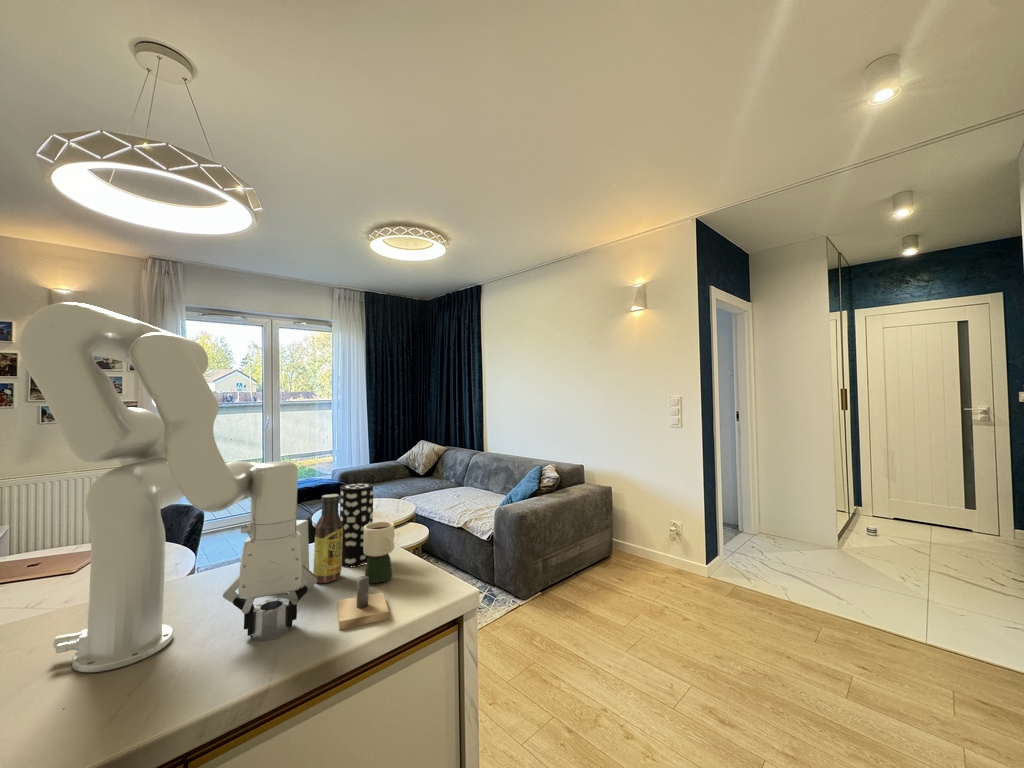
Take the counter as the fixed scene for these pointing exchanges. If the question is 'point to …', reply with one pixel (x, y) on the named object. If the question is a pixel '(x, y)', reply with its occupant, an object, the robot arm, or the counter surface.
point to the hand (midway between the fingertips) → (271, 626)
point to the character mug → (378, 550)
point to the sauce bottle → (328, 541)
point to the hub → (270, 619)
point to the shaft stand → (362, 607)
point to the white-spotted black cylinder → (355, 521)
